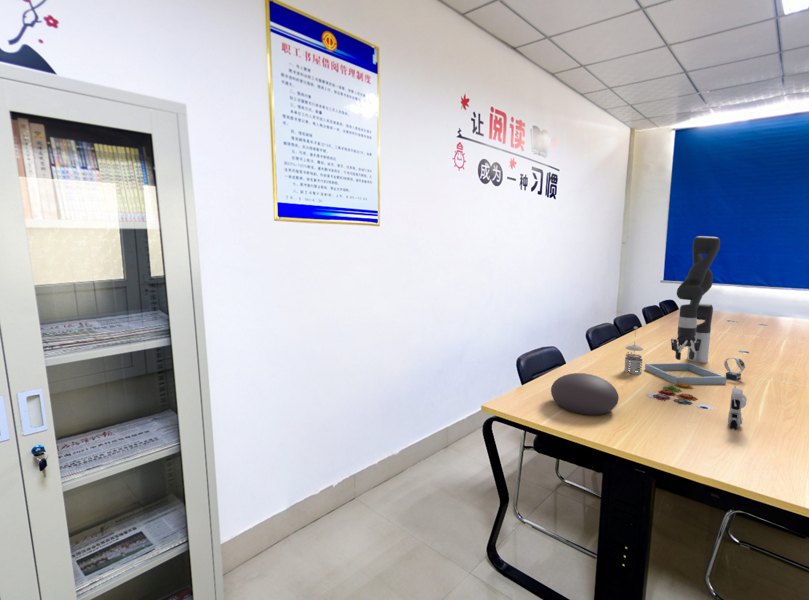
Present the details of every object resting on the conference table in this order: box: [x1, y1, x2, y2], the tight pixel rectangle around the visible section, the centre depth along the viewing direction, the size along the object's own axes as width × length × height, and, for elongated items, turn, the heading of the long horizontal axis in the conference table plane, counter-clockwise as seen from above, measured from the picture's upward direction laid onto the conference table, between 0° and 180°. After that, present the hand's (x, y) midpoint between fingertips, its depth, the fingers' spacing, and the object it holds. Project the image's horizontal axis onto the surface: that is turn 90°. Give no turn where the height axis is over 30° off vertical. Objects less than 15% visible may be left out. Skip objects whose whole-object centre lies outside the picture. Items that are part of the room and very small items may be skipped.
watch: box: [723, 356, 746, 381], centre depth 204 cm, size 6×8×11 cm
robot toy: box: [727, 385, 748, 431], centre depth 148 cm, size 12×4×15 cm, turn 139°
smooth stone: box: [550, 372, 619, 416], centre depth 166 cm, size 25×25×15 cm
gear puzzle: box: [652, 383, 699, 406], centre depth 182 cm, size 31×16×4 cm, turn 135°
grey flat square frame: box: [644, 362, 727, 385], centre depth 207 cm, size 24×24×4 cm
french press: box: [623, 326, 644, 375], centre depth 212 cm, size 10×12×25 cm
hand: (684, 359), depth 206 cm, fingers open, 6 cm apart
